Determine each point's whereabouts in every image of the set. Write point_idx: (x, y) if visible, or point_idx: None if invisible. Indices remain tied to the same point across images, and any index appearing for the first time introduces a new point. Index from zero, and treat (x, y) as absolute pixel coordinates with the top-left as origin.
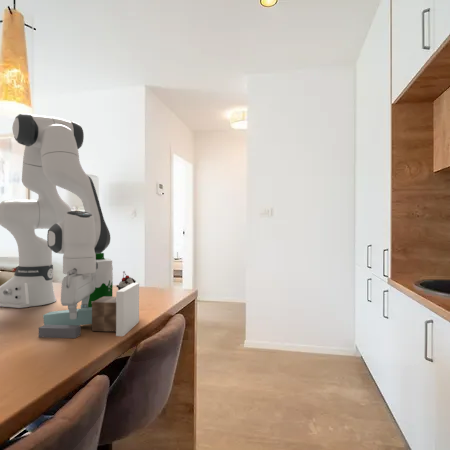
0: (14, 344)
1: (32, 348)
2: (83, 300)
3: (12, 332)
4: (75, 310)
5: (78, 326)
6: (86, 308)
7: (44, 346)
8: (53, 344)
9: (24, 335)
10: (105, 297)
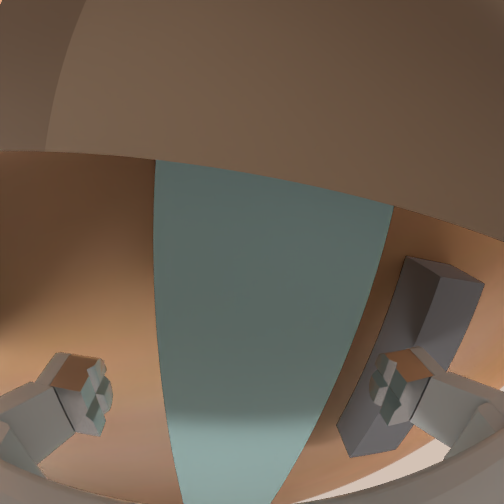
0: (423, 435)
1: (482, 368)
2: (38, 443)
3: (283, 497)
4: (474, 384)
5: (456, 282)
6: (211, 364)
7: (484, 343)
8: (481, 324)
9: (333, 465)
10: (117, 2)
